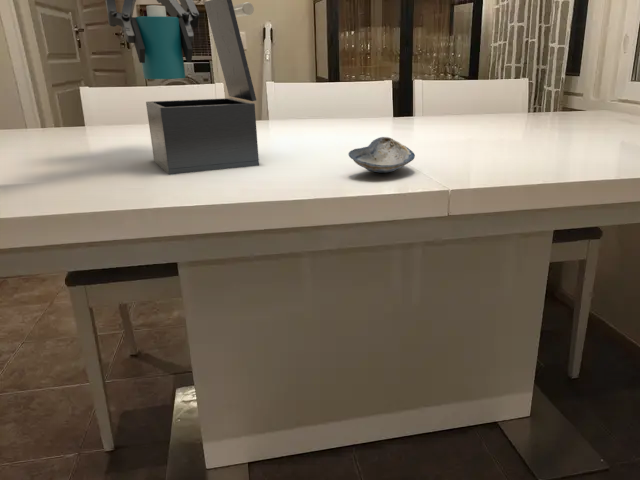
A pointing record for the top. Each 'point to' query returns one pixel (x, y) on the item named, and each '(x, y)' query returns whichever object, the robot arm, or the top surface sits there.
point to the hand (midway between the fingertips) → (166, 55)
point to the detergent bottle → (161, 44)
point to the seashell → (382, 155)
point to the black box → (203, 134)
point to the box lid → (231, 45)
